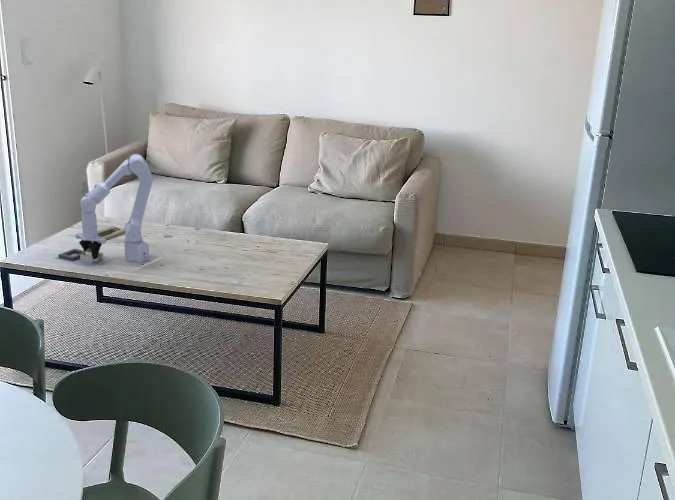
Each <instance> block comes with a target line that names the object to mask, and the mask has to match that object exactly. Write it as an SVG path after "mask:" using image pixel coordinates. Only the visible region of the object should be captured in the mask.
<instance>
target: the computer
mask: <svg viewBox="0 0 675 500" xmlns="http://www.w3.org/2000/svg"><path fill="white" fill-rule="evenodd" d="M97 231H98V236H100V237H102V238H105V239H106V241H108V240H111V239H115V238H118V237H120V236H123V235H125V229H123V228H120V227H117V226H114V225H111V226H109V227H106V228H102V229H100V230H97Z"/></svg>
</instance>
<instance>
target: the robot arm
mask: <svg viewBox="0 0 675 500" xmlns="http://www.w3.org/2000/svg"><path fill="white" fill-rule="evenodd" d="M132 174H134V175H135V176H137V178H138V180H139V184H138V187H137V188H138V189H137V192H136V195H135V199H134V203H133V206H132V210H131V214H130V217H129V219H128V222H127V223H126V224H125V225H124V230H125V234H124V236H125V238H124V241H123V243H124V255H125V256H124V257H125V261H128V262H133V263H134V262H135V263H140V264H141V263H143V262H145V261H147V260H150V247H149V243H147V242H145V241H144V240H143V237H142V232H141V231H142V230H141V229H142V224H143V219H144V215H145V211H146V206H147V203H148V200H149V196H150V192H151V189H152V185H153V181H154V177H153V175H152V172H151V170H150V167H149V165H148V162H147V160H146V159H145V158H144V157H143V155H141V154H138V153H134V154H132V155H130V156H128V158H127V159H125V160H124V161H123V162H122V163H121V164H120V165H119V166H118V167H117V168H116V169H115V170H114V171H113V172H112V174H110V175H109V176H108V177H107V179H105V181H103V182H98V183H95V184H94V185H93V188H92V189H91V190H90V191H89V192H86V193H85V196H83V197H82V198H81V199H80V202H79V203H80V204H79V207H80V209H81V211H80V213H81V215H80V216H81V229H82V233H81V232H77V233H75V234H74V235H75V236H74V237H75V239H77V240H78V239H79V240H80V241H79V242H78V244H79V245H80V247H81V248H82V250H83V251H84V252H85V251H87V248H91V251H92V257H93V259H97V258H98V254H99V252H100V250H101V247H102V246H103V245H105V244H107V240H106V239H105V238H102V237H100V236H98V231H99V230H98V219H97V213H96V208H97V205H100V204H101V202H102V201H104V199H105V198H106V197H108V195H109V194H110V193H111V188H112V187H113V186H114V185H116V183H117V182H119V181H120V180H121V179H122V178H123V177H125V176H130V175H132Z"/></svg>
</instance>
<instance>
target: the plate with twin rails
mask: <svg viewBox="0 0 675 500" xmlns="http://www.w3.org/2000/svg"><path fill="white" fill-rule="evenodd" d="M104 257H105V255H104V252H100V251H99V254H98V258H99V260H104ZM80 261H81V262H83V263H87V264H91V265H92V264H94V263H93V257H91V256H87V255H80Z"/></svg>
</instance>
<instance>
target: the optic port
mask: <svg viewBox="0 0 675 500" xmlns="http://www.w3.org/2000/svg"><path fill="white" fill-rule="evenodd" d="M72 254H78V255H75V256H70V255H72ZM80 255H85V252H84V250H83V249H79V248H72V249H69V250H67V251H65V252H62V253H59V254H58V255H57V257H59V258H61V259H65V260H69V261H76V260H78V259H80Z"/></svg>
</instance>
